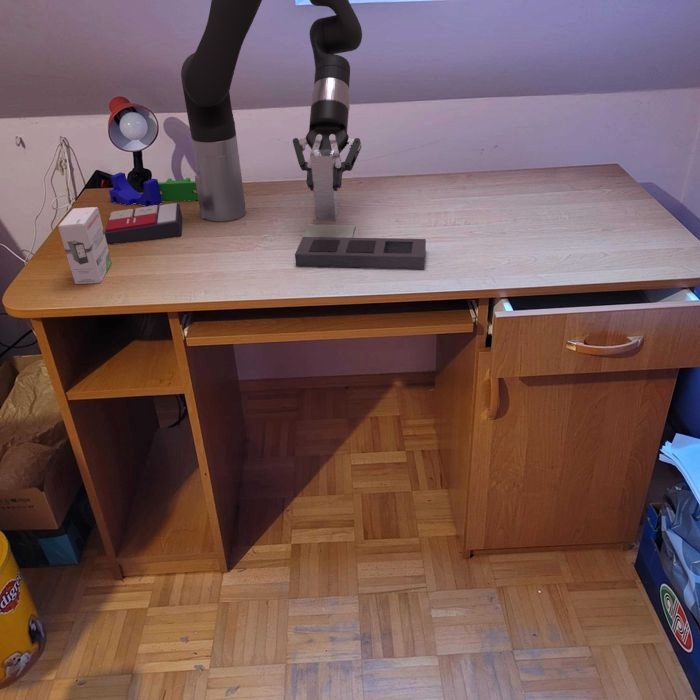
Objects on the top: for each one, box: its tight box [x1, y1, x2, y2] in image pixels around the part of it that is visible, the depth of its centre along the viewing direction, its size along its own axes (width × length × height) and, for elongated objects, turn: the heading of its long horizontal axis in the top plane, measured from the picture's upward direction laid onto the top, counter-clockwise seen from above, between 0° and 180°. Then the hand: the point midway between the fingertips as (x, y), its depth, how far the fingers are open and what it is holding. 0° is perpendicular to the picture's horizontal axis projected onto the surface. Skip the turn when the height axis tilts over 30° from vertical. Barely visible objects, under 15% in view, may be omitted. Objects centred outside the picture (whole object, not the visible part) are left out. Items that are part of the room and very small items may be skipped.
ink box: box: [57, 206, 113, 285], centre depth 124 cm, size 9×5×12 cm, turn 2°
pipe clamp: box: [158, 177, 199, 202], centre depth 158 cm, size 11×4×5 cm, turn 89°
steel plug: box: [311, 150, 340, 222], centre depth 131 cm, size 4×4×13 cm
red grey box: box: [104, 202, 184, 245], centre depth 143 cm, size 11×4×15 cm
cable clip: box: [108, 172, 163, 207], centre depth 156 cm, size 12×4×6 cm, turn 60°
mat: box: [302, 224, 356, 238], centre depth 137 cm, size 10×10×1 cm
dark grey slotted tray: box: [294, 236, 427, 270], centre depth 127 cm, size 24×8×3 cm, turn 83°
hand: (323, 188), depth 130 cm, fingers closed on steel plug, 4 cm apart
